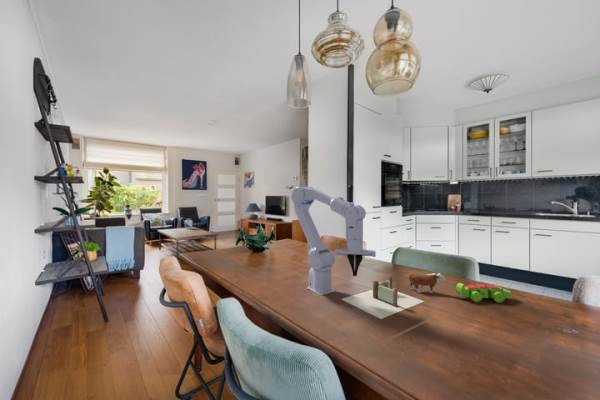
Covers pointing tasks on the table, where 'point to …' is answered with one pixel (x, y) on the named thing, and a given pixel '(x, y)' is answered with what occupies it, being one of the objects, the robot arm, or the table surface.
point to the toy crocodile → (483, 292)
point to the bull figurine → (425, 280)
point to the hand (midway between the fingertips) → (354, 275)
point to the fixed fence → (384, 283)
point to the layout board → (381, 303)
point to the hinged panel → (387, 294)
